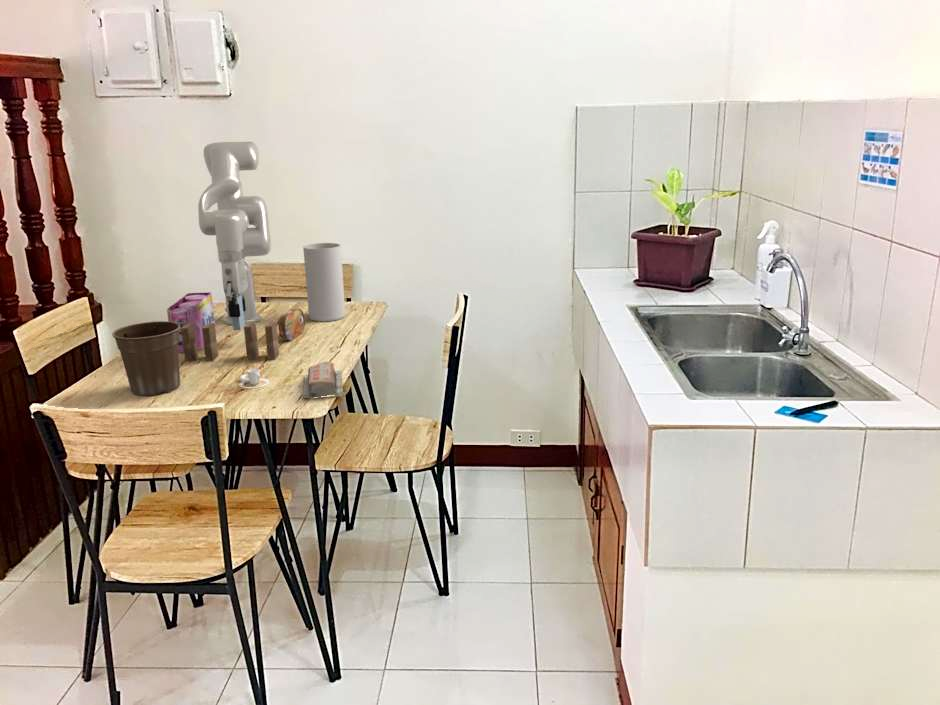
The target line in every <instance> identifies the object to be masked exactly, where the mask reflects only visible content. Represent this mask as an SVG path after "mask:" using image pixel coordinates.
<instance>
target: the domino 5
mask: <svg viewBox="0 0 940 705" xmlns="http://www.w3.org/2000/svg"><path fill="white" fill-rule="evenodd" d="M277 326H278V324H277V321H268V323H267V324H266V325H265V326H264V331H265V343H266V352H267V354H266V355H267V360H268V361H275V360H276V359H277V358H278V357H279V355H280V348H279V346H280V345H279V338H278V329H277Z"/></svg>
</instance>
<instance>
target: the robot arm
mask: <svg viewBox="0 0 940 705" xmlns="http://www.w3.org/2000/svg"><path fill="white" fill-rule="evenodd" d="M259 155H260V154H259V149H258V147H257V145H256V143H255V142H253V141H219V142H218V141H217V142H212V143H209V144H207V145H205V146H204V147H203V159H204V162H205V165H206V169H207V171H208V173H209V174H210V176H211V177H210V178H211V184H210V185H208V186H207V188H206V189H205V190H204V191H203V192H202V194H201V195H200V197H199V199H198V200H199V201H198V205H197V210H198V226H199V229H200V231H201V233H203V235H206V236H215V242H216V247H217V259H218V262H219V263H221V264H220V265H221V275H222V276H221V277H222V287H223V292H224V297H225V305H226V308H224V311H225V312H226V314H227V315H226V316H224V317H223V319H222V320H223V323H224V324H225V325H230V326H231V325H232V326H233V320H232V317H240V306H239V304H238V295H241V294H242V303H243V311H244V321H245V325H246V324H247V323H248V322H256V323H257V322H260V321H261V319H262V315H261V314H259V313H257V310H256V309H257V308H256V301H255V292H254V291H255V290H254V280H253V273H252V268H251V266H250V265H249V264H248V263H247V261H246V257H248V258H249V257H261V256H267V255H269V253H270V252H271V248H272V243H271V234H270V222H269V214H268V207H267V204H266V201H265V200H264V198H262V197H261V196H257V195H253V196H252V195H251V196H250V195H248V196H245V195H243V193H244V192H243V184H242V181H241V178H240V172H241V171H255V170H257V168H258V166H259V158H260V157H259ZM215 204H217V209H212V210H210V209H211V207H213V206H214V205H215ZM249 226H254V227H249ZM232 296H235V298H234V297H232Z"/></svg>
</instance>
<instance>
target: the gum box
mask: <svg viewBox="0 0 940 705" xmlns="http://www.w3.org/2000/svg"><path fill="white" fill-rule="evenodd" d="M213 303H214V302H213V296H212V292H188V293H186V294H184V296H182V297H181V298H180V299H179V300H177V301H176V302H175V303H173V304H172V305H170V306H169V307H168V308H167V309H166V313H167V320H168V322H175V323H178V324H179V325H180V329H179V342H178V351H179V353H180V354H181V353H184V349H183V341H182V334H181V328H182V327H183V326H185V325H186V324H187V323H194V326H195V334H196V342H197V350H198V351H199V350H201V348H203V347H204V342H203V334H202V327H204V326H205V325H206V324H207V323H215V324H216V321H215V312H214V304H213ZM215 330H216V331H217V328H216V326H215Z"/></svg>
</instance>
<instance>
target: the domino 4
mask: <svg viewBox="0 0 940 705" xmlns="http://www.w3.org/2000/svg"><path fill="white" fill-rule="evenodd" d="M243 332H244V340H245V341H244V343H245V352H246V360H247V361H256V359H257V358H258V357H259V355H260V351H259V343H258V342H259V340H258V331H257V322H248V323H247V324H245V326H244V327H243Z"/></svg>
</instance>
